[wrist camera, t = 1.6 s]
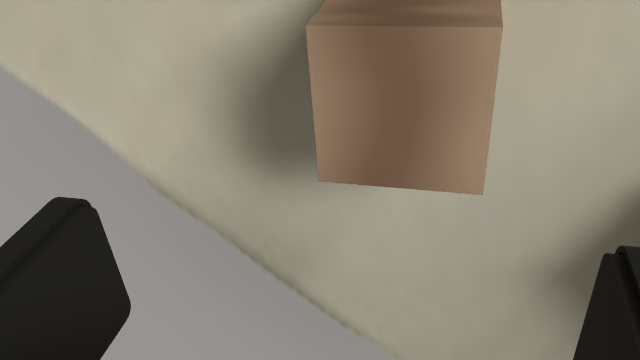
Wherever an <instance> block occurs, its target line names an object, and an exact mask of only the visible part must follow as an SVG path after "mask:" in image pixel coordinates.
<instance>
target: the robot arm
mask: <svg viewBox="0 0 640 360" xmlns="http://www.w3.org/2000/svg"><path fill="white" fill-rule="evenodd" d="M130 309H131V304H130V299H129V297H128V294H127V291H126V289H125V286H124V283H123V280H122V278H121V275H120V272H119V269H118V267H117V264H116V261H115V259H114V256H113V253H112V250H111V247H110V245H109V242H108V239H107V237H106V234H105V231H104V229H103V226H102V223H101V220H100V218H99V215H98V212H97V211H96V209H94V208H93V207H91V205H90V203H89V202H88V201H87V200H84V199H76V198H65V197H57V198H54V199H52V200H51V201H50V202H48V203H47V204H46V205H45V206H44V207H43V208H42V209H41V210H40V211H39V212H38V213H37V214H36V215H34V216H33V217H32V218H31V219H30V220H29V221H28V222H27V223H26V224H25V225H24V226H23V227H22V228H20V229H19V230H18V231H17V232H16V233H15V234H14V235H13V236H12V237H11V238H10V239H9V240H8V241H6V242H5V243H4V244H3V245H2V246H1V247H0V360H100V359H101V357H102V356H103V354H104V353H105V351H106V350H107V349H108V347H109V345H110V344H111V343H112V341H113V340H114V338H115V337H116V335H117V334H118V332H119V331H120V329H121V328H122V326H123V325H124V323H125V322H126V320H127V318H128V317H129V314H130ZM573 360H640V247H632V246H619V247H618V248H617V250H616V252H615V254H609V253H606V254H604V256H603V258H602V261H601V265H600V268H599V271H598V275H597V278H596V282H595V285H594V289H593V292H592V296H591V299H590V303H589V306H588V310H587V313H586V317H585V320H584V324H583V327H582V330H581V334H580V337H579V341H578V344H577V348H576V351H575V355H574V358H573Z"/></svg>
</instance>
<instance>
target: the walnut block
mask: <svg viewBox="0 0 640 360" xmlns="http://www.w3.org/2000/svg"><path fill="white" fill-rule="evenodd" d="M305 27H306V39H307V51H308V62H309V74H310V86H311V97H312V109H313V121H314V132H315V144H316V156H317V167H318V179H319V181H322V182H334V183H346V184H358V185H370V186H382V187H394V188H406V189H418V190H430V191H442V192H454V193H466V194H478V195H483V189H484V181H485V173H486V164H487V156H488V147H489V139H490V130H491V122H492V113H493V105H494V97H495V88H496V80H497V71H498V63H499V54H500V46H501V38H502V29H503V25H502V11H501V0H326V1H325V2H324V3H323V4H322V5H321V7H320V8H319V9H318V10H317V12H316V13H315V14H314V15H313V17H312V18H311V19H310V20H309V21H308V23H307V24H306V25H305Z"/></svg>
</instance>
